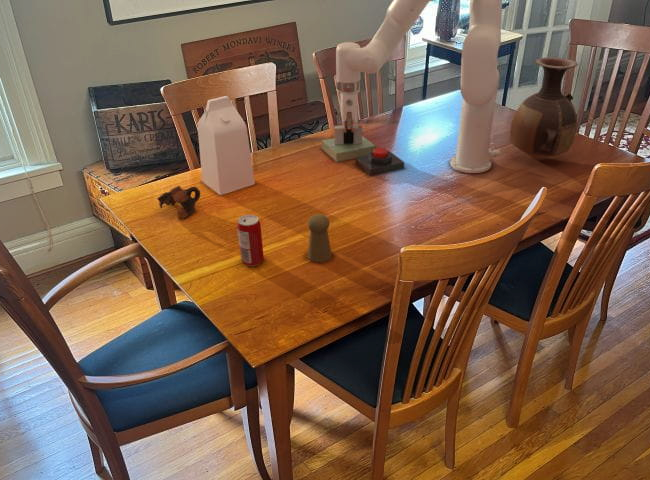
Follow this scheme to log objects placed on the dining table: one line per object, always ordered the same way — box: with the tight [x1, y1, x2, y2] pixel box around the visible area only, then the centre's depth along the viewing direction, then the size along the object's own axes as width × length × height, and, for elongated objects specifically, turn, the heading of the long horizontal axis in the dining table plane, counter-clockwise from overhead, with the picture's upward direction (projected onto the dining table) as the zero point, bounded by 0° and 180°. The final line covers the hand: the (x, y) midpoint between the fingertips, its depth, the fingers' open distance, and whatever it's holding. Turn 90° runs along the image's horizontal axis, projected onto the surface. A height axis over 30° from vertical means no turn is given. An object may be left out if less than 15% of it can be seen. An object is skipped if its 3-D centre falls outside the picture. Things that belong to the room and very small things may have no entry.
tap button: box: [373, 147, 388, 158], centre depth 193 cm, size 4×4×2 cm
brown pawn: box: [307, 213, 332, 263], centre depth 151 cm, size 6×6×11 cm
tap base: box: [321, 135, 376, 163], centre depth 205 cm, size 14×13×3 cm
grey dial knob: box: [333, 124, 363, 145], centre depth 202 cm, size 9×2×6 cm, turn 92°
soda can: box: [236, 214, 265, 267], centre depth 150 cm, size 6×6×12 cm
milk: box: [197, 95, 256, 196], centre depth 181 cm, size 12×12×26 cm
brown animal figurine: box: [157, 185, 201, 220], centre depth 175 cm, size 12×10×8 cm
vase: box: [509, 56, 579, 160], centre depth 189 cm, size 23×19×30 cm
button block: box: [355, 150, 405, 177], centre depth 195 cm, size 12×10×4 cm
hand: (348, 141), depth 204 cm, fingers closed on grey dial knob, 2 cm apart
